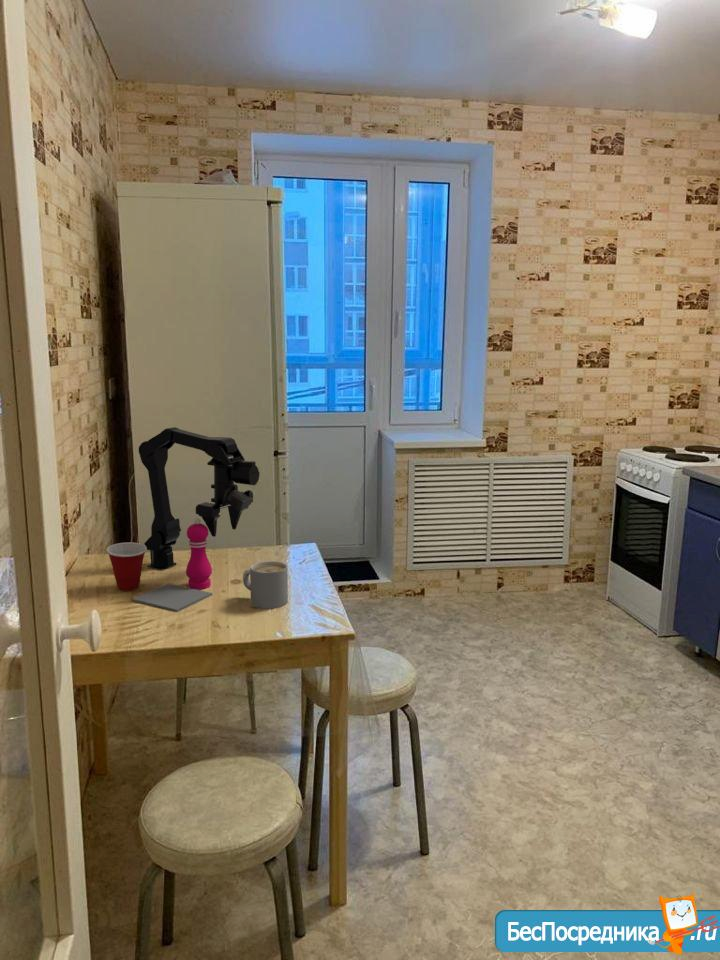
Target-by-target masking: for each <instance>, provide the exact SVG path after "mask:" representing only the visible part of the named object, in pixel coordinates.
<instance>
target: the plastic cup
mask: <svg viewBox="0 0 720 960" xmlns="http://www.w3.org/2000/svg"><path fill="white" fill-rule="evenodd" d="M146 551H148V550H147V547H146V546H145V544H143V543H139V542H133V541H132V542H131V541H130V542H119V543H113V544H112V545H109V546H108V547H107V548H106V553H107V555H108V556H109V560H110V562H111V566H112V567H111V568H112V572H113V574H114V575H113V576H114V579H115V582H116V587H117V589H118V590H119V591H122V592H129V591H130V592H131V591H135V590H137V589H139V588H140V584H141V577H142V570H143V562H144V557H145V553H146ZM138 587H139V588H138Z"/></svg>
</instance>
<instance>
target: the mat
mask: <svg viewBox="0 0 720 960" xmlns="http://www.w3.org/2000/svg"><path fill="white" fill-rule="evenodd" d="M211 596H213V593H212V592H208V591H205V590H202V589H199V590H196V589H192V588H189V587H186V586H184V585H183V586H182V585H178V584H173V583H166V584H164V585H161V586H160V587H159V586H158V587H157V588H155V589H152V590H149V591H147V592H145V593H142V594H139V595H138V596H135V597H133V598H131V601H132V602H136V603H139V604H144V605H147V606H151V607H156V608H159V609H164V610H168V611H171V612H175V613H178V612H180V611H182V610H184V609H187V608H188V607H190V606H193V605H194V604H197V603H199V602H201V601H203V600H205V599H207V598H210V597H211Z"/></svg>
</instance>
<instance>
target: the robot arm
mask: <svg viewBox="0 0 720 960" xmlns="http://www.w3.org/2000/svg"><path fill="white" fill-rule="evenodd" d="M175 444H177V445H181V446H184V447H188V448H192V449H195V450H199V451H202V452H204V453H205V454H206V455H207V456H208V457H210V458H211V459H210V460H209V461H208V462H207V466H213V484H210V489H213V497H212V498H210V502H207V501H206V502H202V503H199V504H196V506H195V514H196V515H198V516H199V517H201V519H202V521H203V522H204V523H205V526H206V527H207V528H208V532H209V533H210V535H211V537H216V536H217V526H218V524H217V523H218V519H219V518H220V517H221V514H220V512H221V510H222V509H224V508H227V509H228V515H229V521H230V525H231V529H232V530H236V529H237V527H238V523H239V521H240V518H241V515H242V514H243V512H244V511H246V510H247V509H249V507H250V505H252V503H254V491H252V490H250V489H248V490H245V491H242V490H241V491H239V488H238V487H239V486H238V484H241V485H246V486H247V485H249V486H256V485H257V483H258V482H259V480H260V471H259V467H258V466H257V465H256V461H255V460H249V461H248V460H245V457H244V456H243V454H242V452H241V450H240V449H239V448H238V446H237V442H236V440H235V439H234V438H232V437H226V436H225V437H224V436H207V435H204V434H199V433H196V432H192V431H187V430H185V429H180V428H179V427H175V426H174V427H173V426H172V427H167V428H165V429H163V430H161V431H160V432H159V433H158V434H156V435H155V436H153V437H152V438H151V437H150V438H149V439H148V440H146V441H145V440H144V441H143V442H142V443H141V444H140V445H138V455H139V458H140V461H141V463H142V464H143V466H144V468H146V469H147V473H148V481H149V486H150V492H151V493H150V494H151V500H152V507H153V515H154V517H153V520H152V523H151V527H150V528H151V529H150V530H151V531H150V533H151V534H150V537H148V538H147V540H146V541H145V542H144V544H143V545H145V546H146V547H147V550H146V551H149V552H150V554H149V555H150V564H147V566H146V567H147V568H149V569H150V568H152V569H155V570H160V571H163V570H167V569H169V568H172V567H174V566H177V562H174V552H173V546H174V545H176V543H177V540H178V538H179V537H180V535H181V531H182V528H181V525H180V519H179V518H175V517H174V516H173V514H172V510H171V504H170V497H169V496H170V495H169V490H168V483H167V475H166V470H165V469H166V465H167V462H168V459H169V450H170V449H171V448H172V447H173V446H174V445H175Z"/></svg>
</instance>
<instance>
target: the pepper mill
mask: <svg viewBox="0 0 720 960" xmlns="http://www.w3.org/2000/svg"><path fill="white" fill-rule="evenodd" d="M193 520H194V521H193V524H190V525H189V527H188V528H187V529H186V536H187V538H188V540H189V541H188V546H189V547H190V555H189V556H190V557H189V560H188V562H187V565H186V568H185V569H186V570H185V574H186V577H188V578H189V579H188V580H187V583H188V587H187V588H192V589H196V590H205V589H208V588H209V587H210V586H211V585H212V583H211V578H210V576H212V575H213V570H212V565H211V562H210V560H209V558H208V556H207V551H206V549H207V548H206V547H207V545H208V543H207V542H208V539H207V538H208V537H209V529H208V527H207V525H206V524H203V523H201V519H199V518H195V519H193Z"/></svg>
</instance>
